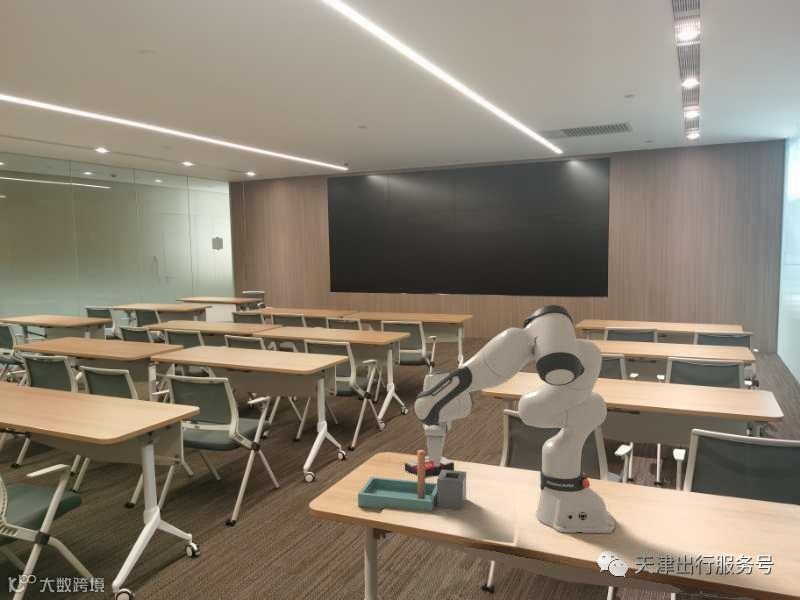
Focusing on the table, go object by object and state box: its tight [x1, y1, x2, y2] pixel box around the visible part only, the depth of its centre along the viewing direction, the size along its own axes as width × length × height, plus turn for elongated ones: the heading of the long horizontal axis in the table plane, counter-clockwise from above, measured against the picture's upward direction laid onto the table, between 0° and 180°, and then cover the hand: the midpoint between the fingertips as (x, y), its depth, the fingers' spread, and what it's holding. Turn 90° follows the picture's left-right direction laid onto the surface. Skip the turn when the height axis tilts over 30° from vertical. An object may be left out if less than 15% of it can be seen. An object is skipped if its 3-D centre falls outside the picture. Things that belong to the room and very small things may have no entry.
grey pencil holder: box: [436, 470, 467, 511], centre depth 174 cm, size 8×8×10 cm
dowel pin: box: [416, 449, 426, 499], centre depth 176 cm, size 2×2×16 cm
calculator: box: [404, 455, 455, 477], centre depth 203 cm, size 11×4×15 cm
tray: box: [357, 476, 437, 512], centre depth 179 cm, size 24×14×4 cm, turn 76°
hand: (437, 464), depth 175 cm, fingers closed
